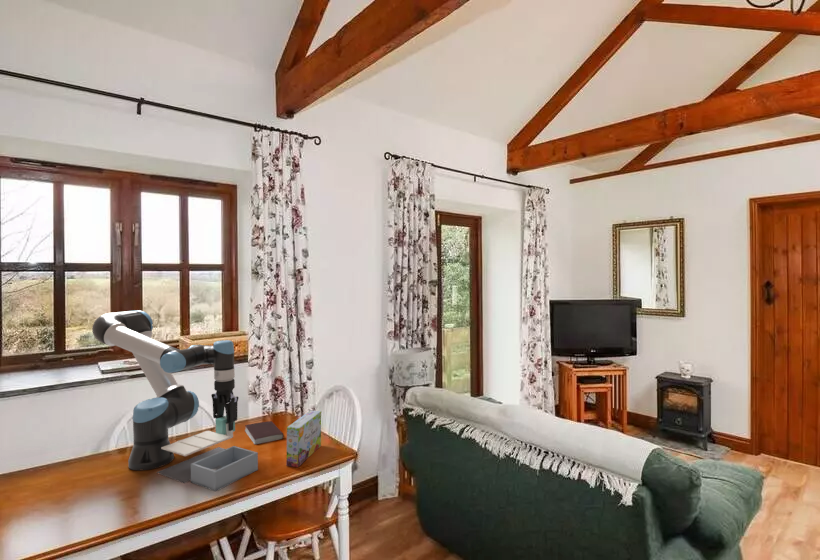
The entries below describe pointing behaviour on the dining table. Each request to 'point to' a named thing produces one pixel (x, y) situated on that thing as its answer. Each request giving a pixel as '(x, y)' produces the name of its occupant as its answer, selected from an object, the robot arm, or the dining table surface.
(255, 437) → the book
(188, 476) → the mat
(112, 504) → the dining table surface
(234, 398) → the robot arm
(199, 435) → the lid
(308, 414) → the snack box
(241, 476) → the tub
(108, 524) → the dining table surface
